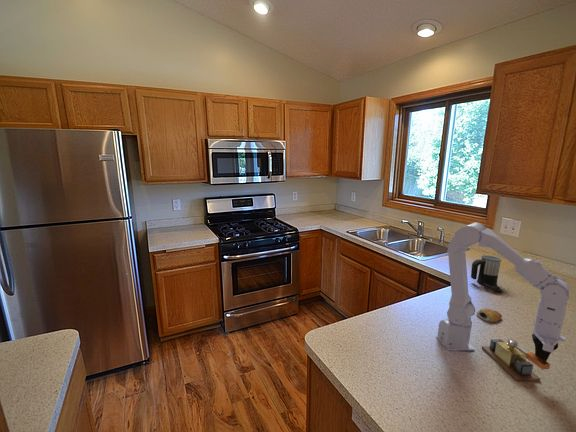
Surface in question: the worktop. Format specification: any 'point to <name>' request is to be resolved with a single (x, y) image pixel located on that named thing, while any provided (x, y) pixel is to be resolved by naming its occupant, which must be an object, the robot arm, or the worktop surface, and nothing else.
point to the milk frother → (487, 271)
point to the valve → (511, 357)
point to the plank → (511, 370)
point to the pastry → (489, 315)
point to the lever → (529, 355)
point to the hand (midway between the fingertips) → (540, 360)
